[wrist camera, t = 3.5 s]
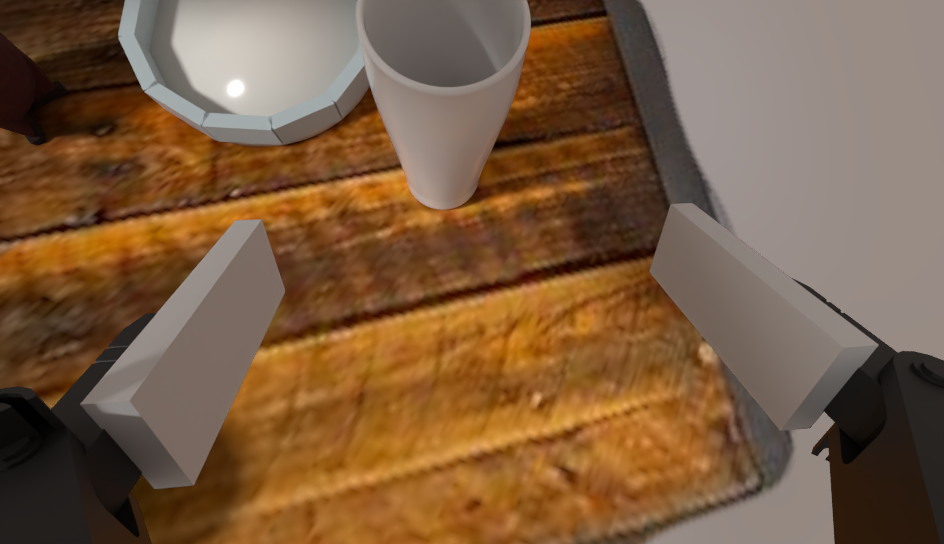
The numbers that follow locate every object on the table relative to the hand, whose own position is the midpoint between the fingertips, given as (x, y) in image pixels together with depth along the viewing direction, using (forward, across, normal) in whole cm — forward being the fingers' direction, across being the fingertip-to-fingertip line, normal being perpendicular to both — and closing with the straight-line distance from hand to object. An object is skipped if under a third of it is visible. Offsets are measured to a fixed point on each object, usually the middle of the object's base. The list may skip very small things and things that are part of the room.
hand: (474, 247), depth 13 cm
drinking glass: (+17, 0, -4) cm, 18 cm away
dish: (+25, -13, +4) cm, 29 cm away
